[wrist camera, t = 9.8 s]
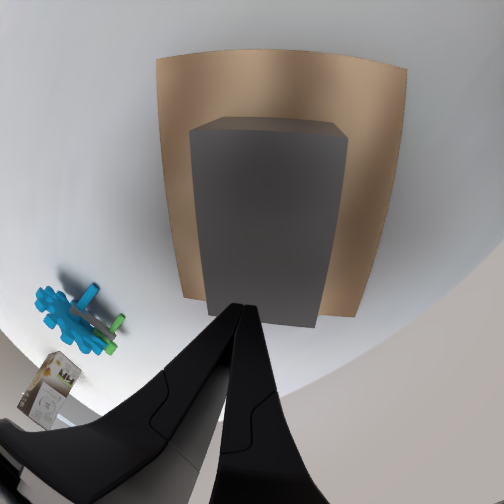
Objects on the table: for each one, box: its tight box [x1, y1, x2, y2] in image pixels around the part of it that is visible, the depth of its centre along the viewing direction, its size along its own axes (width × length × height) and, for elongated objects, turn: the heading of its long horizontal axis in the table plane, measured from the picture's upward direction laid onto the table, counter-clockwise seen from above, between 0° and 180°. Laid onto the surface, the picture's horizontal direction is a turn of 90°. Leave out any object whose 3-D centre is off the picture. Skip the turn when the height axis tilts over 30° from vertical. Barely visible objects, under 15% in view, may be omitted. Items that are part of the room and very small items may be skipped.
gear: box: [35, 284, 125, 356], centre depth 25 cm, size 11×6×10 cm
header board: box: [156, 49, 407, 317], centre depth 16 cm, size 14×18×4 cm
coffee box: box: [17, 352, 81, 431], centre depth 37 cm, size 9×6×16 cm
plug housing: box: [189, 117, 348, 328], centre depth 14 cm, size 6×10×5 cm, turn 0°
